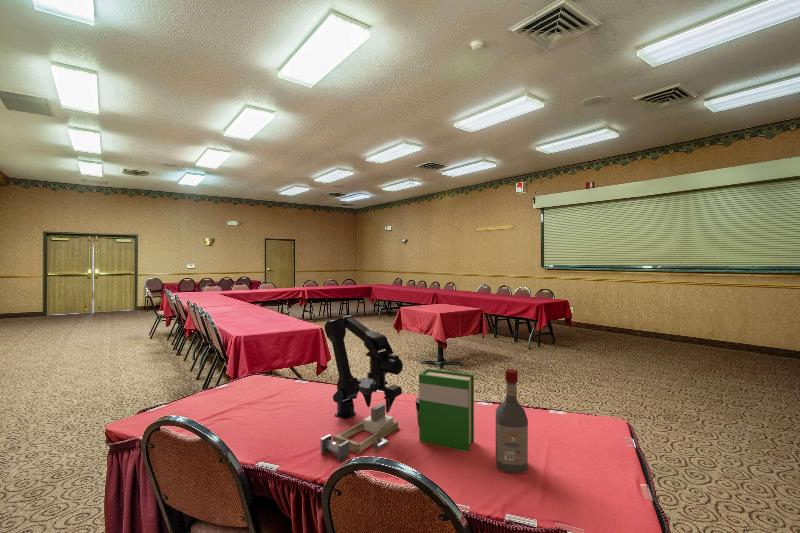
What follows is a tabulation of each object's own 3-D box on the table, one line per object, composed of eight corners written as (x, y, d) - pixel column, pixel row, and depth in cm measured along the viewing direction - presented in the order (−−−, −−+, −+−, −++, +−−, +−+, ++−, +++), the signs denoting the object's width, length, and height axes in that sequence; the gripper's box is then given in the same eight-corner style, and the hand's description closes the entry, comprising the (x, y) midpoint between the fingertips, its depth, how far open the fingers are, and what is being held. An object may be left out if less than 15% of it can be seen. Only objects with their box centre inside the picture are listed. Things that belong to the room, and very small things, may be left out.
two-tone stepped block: (363, 429, 147) (363, 407, 147) (376, 422, 154) (376, 400, 153) (380, 435, 143) (379, 412, 142) (393, 427, 149) (393, 405, 149)
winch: (320, 453, 130) (320, 438, 130) (329, 448, 134) (329, 434, 133) (340, 461, 125) (340, 446, 125) (348, 456, 128) (348, 441, 128)
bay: (333, 444, 137) (332, 435, 137) (375, 420, 155) (375, 412, 155) (357, 453, 130) (357, 444, 130) (398, 427, 149) (398, 419, 149)
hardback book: (473, 441, 137) (473, 374, 136) (468, 451, 131) (468, 381, 130) (426, 432, 145) (426, 368, 144) (419, 441, 138) (419, 374, 137)
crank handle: (375, 451, 132) (375, 442, 132) (367, 446, 135) (367, 438, 135) (388, 444, 136) (388, 435, 136) (380, 440, 139) (380, 432, 139)
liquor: (528, 475, 117) (529, 376, 116) (497, 472, 118) (497, 374, 117) (524, 459, 126) (524, 367, 125) (495, 456, 127) (495, 365, 126)
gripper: (344, 370, 146) (345, 411, 147) (384, 379, 135) (384, 423, 136) (364, 362, 155) (364, 401, 156) (402, 371, 144) (402, 412, 145)
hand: (377, 409), depth 148 cm, fingers open, 9 cm apart
